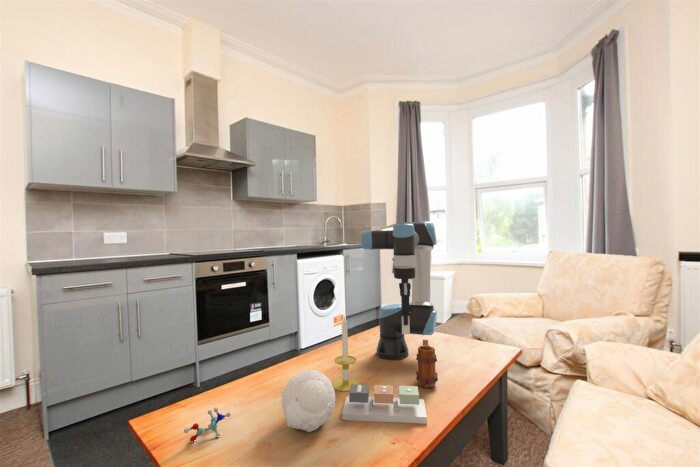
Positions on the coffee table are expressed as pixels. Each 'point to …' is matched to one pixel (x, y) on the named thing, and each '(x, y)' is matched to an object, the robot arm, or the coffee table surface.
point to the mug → (426, 365)
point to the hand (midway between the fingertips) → (405, 333)
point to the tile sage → (409, 395)
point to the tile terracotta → (383, 394)
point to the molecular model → (210, 426)
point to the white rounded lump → (308, 400)
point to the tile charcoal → (359, 393)
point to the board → (385, 411)
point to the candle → (344, 363)
